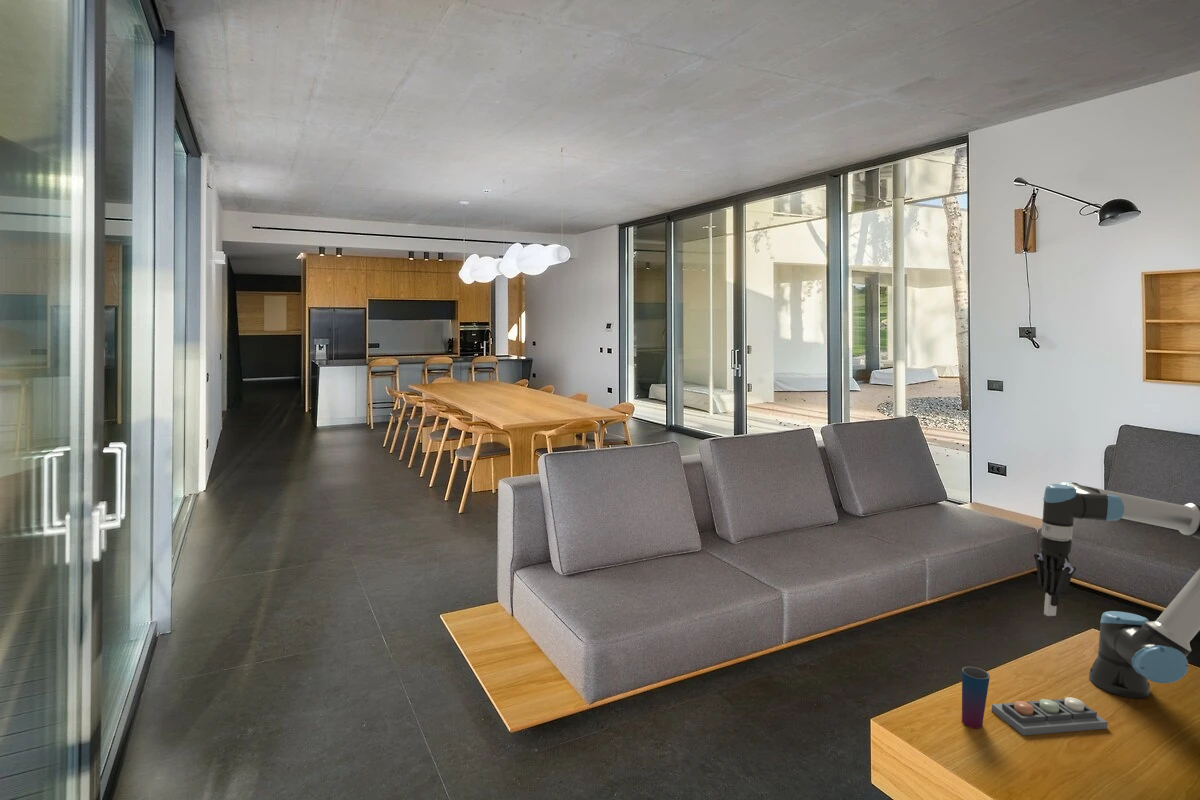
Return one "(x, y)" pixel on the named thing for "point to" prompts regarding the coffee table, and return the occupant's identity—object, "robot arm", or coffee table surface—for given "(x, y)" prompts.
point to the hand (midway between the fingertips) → (1049, 614)
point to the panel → (1049, 719)
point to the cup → (974, 695)
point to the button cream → (1074, 704)
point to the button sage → (1049, 706)
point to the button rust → (1023, 708)
